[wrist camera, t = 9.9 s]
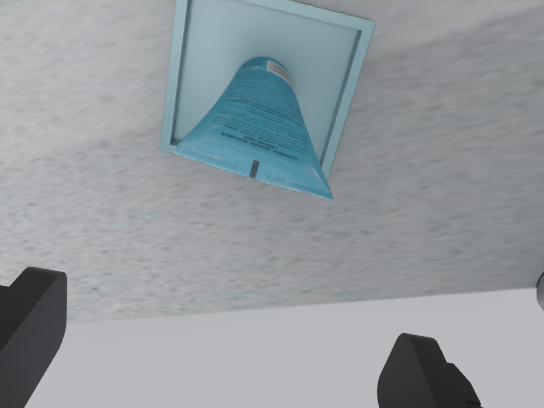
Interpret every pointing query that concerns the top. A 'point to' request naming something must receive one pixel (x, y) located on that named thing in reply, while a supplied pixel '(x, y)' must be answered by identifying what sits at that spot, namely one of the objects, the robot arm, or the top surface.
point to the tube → (259, 132)
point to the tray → (264, 43)
